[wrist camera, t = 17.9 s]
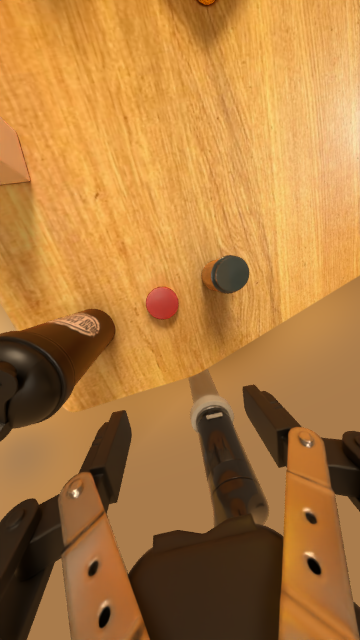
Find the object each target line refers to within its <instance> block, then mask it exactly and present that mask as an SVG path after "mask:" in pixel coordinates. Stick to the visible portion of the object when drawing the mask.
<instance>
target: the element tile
mask: <svg viewBox="0 0 360 640" xmlns="http://www.w3.org/2000/svg"><path fill="white" fill-rule="evenodd" d="M198 1H199V2H201V3H202V4H204V5H210V4H211V3H213V2H214V1H215V0H198Z"/></svg>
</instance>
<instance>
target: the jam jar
mask: <svg viewBox="0 0 360 640" xmlns="http://www.w3.org/2000/svg"><path fill="white" fill-rule="evenodd" d="M248 278H249V268H248V265H247V264H246V262H245V261H244V260H243V259H242V258H240V257H237V256H232V255H228V256H224V257H221V258H219V259H216V260H214V261H211V262H209V263H208V264H207V265H206V266H205V267H204V269H203V271H202V281H203V283H204V285H205V286H206V287H207V288H209V289H211V290H214V291H218V292H222V293H227V294H229V293H234V292H236V291H238V290H240V289H241V288H243V287H244V285H245V284H246V283H247V281H248Z"/></svg>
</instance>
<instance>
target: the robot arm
mask: <svg viewBox="0 0 360 640" xmlns="http://www.w3.org/2000/svg"><path fill="white" fill-rule="evenodd" d="M243 397H244V407H245V411H246V413H247V416H248V417H249V419H250V421H251V422H252V424H253V426H254V427H255V429H256V431H257V432H258V434H259V436H260V437H261V439H262V441H263V442H264V444H265V446H266V447H267V449H268V451H269V452H270V454H271V456H272V457H273V459H274V461H275V462H276V464H277V466H278V467H279V468H280V467H284V466H286V467H287V471H286V490H285V514H284V537H283V536H282V535H281V534H279V533H278V532H276V531H275V530H273V529H271V528H269V527H266V526H263V525H264V524H265V522H266V520H267V518H268V516H269V506H268V502H267V500H266V497H265V495H264V493H263V490H262V488H261V486H260V484H259V481H258V479H257V477H256V475H255V472H254V470H253V468H252V466H251V464H250V461H249V459H248V457H247V455H246V452H245V450H244V448H243V446H242V443H241V442H240V439H239V437H238V434H237V432H236V430H235V428H234V425H233V423H232V421H231V418H230V415H229V413H228V411H227V410H226V409H225V408H224V407H222V406H218V405H211V406H207V407H205V408H203V409H202V410H201V411H200V412H199V413H198V415H197V417H196V426H197V429H198V434H199V440H200V445H201V450H202V456H203V461H204V466H205V471H206V476H207V481H208V486H209V491H210V497H211V502H212V507H213V515H214V528H213V529H211V530H210V531H208V532H207V533H204V534H201V533H194V532H188V531H181V530H176V531H171V532H167V533H162V534H158V535H154V536H153V548H151V549H150V550H148V551H147V552H146V553H145V554H144V555H143V556H142V557H141V558H140V559H139V560H138V561H137V562H136V564H135V565H134V566H133V568H132V569H131V571H130V572H129V574H128V572H127V569H126V566H125V564H124V561H123V558H122V555H121V553H120V550H119V547H118V544H117V541H116V539H115V536H114V533H113V530H112V528H111V525H110V522H109V519H108V517H107V510H108V506H109V504H112V503H116V502H117V500H118V496H119V491H120V487H121V482H122V478H123V473H124V469H125V465H126V460H127V456H128V451H129V447H130V443H131V436H132V434H131V427H130V424H129V420H128V417H127V413H126V411H125V410H122V411H117V412H113V413H112V415H111V418H110V420H109V422H106V423H104V425H103V426H102V427H101V428H100V429H99V430H98V433H97V435H96V437H95V440H94V441H93V443H92V447H91V448H90V450H89V452H88V454H87V456H86V458H85V461H84V463H83V465H82V467H81V469H80V472H79V473H78V474H77V475H75V476H74V477H73V478H71V479H70V480H69V481H68V482H67V483H66V484H65V486H64V487H63V489H62V490H61V492H60V494H58V495H57V496H55V497H53V498H51V499H49V500H47V501H46V502H43V503H42V504H40V505H39V504H38V502H37V501H36V499H27V500H25V501H23V502H21V503H20V504H18V505H17V506H15V507H14V508H13V509H12V510H11V511H9V513H7V515H6V516H5V517H4V518H3V519H2V520H1V522H0V640H27V637H28V634H29V632H30V629H31V626H32V623H33V621H34V618H35V615H36V612H37V609H38V607H39V604H40V601H41V599H42V596H43V593H44V590H45V588H46V585H47V582H48V580H49V577H50V574H51V571H52V569H53V566H54V563H55V562H56V561H57V560H59V559H60V558H62V567H63V576H64V584H65V592H66V601H67V610H68V618H69V626H70V635H71V640H360V607H359V606H358V605H357V604H356V603H355V602H353V597H352V592H351V586H350V580H349V574H348V568H347V562H346V556H345V551H344V544H343V539H342V533H341V527H340V521H339V515H338V509H337V503H336V498H335V494H338V495H343V496H348V497H349V499H350V500H351V501H352V502H353V504H354V505H355V506H356V507H357V509H358V510H359V511H360V432H356V431H348V432H345V433H344V434H343V438H342V440H337V439H328V438H321V437H320V436H319V435H318V434H316V433H315V432H313V431H312V430H310V429H307V428H304V427H301V426H300V425H299V423H298V422H297V421H296V420H295V419H294V418H293V417H292V416H291V415H290V414H289V413H288V412H287V411H286V410H285V408H283V407H282V405H281V404H280V403H278V401H277V400H276V399H275V398H274V397H273V396H272V395H271V394H269V393H267V392H266V391H262V392H260V390H259V389H258V388H257V387H256V386H255V385H249V386H244V387H243Z"/></svg>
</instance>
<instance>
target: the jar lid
mask: <svg viewBox="0 0 360 640" xmlns="http://www.w3.org/2000/svg"><path fill="white" fill-rule="evenodd" d="M146 307H147V310H148V312H149V313H150V314H151V315H152V316H153V317H155V318H157V319H168V318H170V317H172V316H173V315H174V314H175V313H176V311H177V309H178V298H177V296H176V294H175V293H174V292H173V291H172V290H171V289H169V288H166V287H158V288H156V289H154V290H152V291H151V292H150V293H149V294H148V297H147V299H146Z"/></svg>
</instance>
